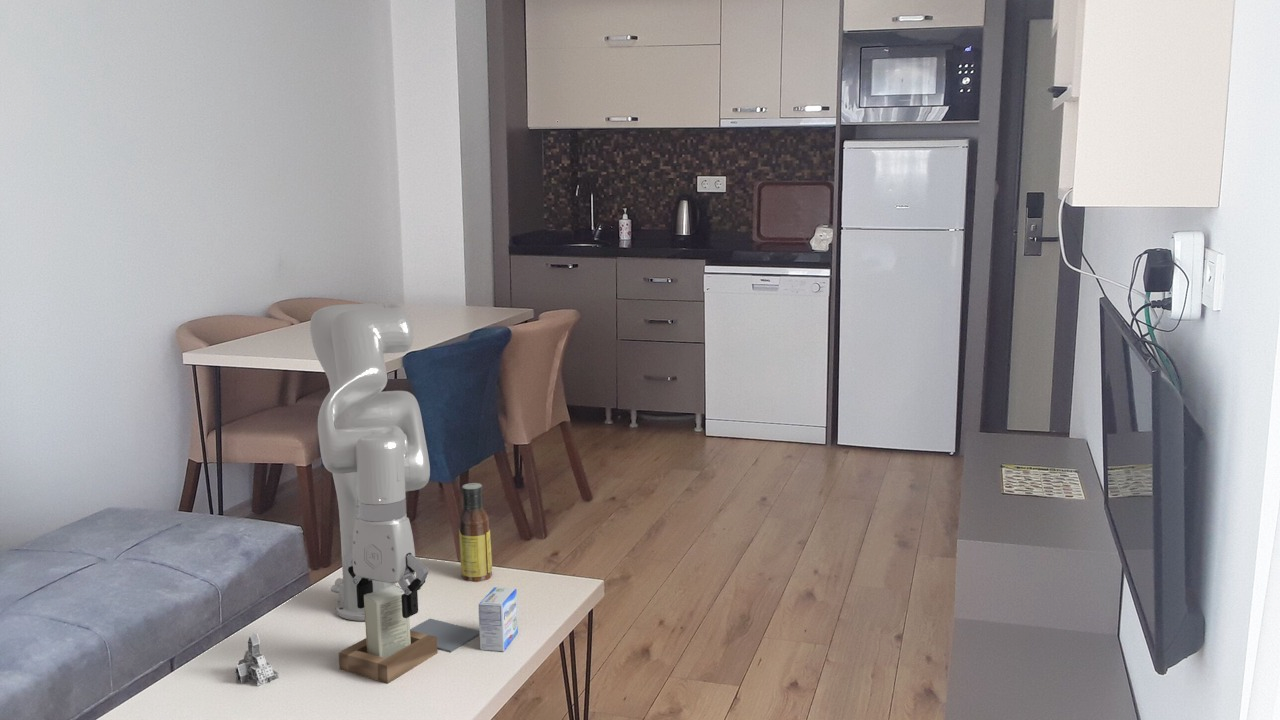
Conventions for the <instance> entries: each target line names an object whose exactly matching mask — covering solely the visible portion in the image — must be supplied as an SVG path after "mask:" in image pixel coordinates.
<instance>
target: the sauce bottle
mask: <svg viewBox="0 0 1280 720" xmlns="http://www.w3.org/2000/svg"><path fill="white" fill-rule="evenodd" d="M482 493H483V485H482V484H481V483H478V482H472V483H465V484H463V485H462V486H461V494H462V499H463V506H462V512H461V514H460V515H461V516H460V520H459V523H458V535H459V536H458V538H459V539H458V540H459V558H460V571H461V577H462V579H463V580H464V581H465V582H471V583H472V582H473V583H479V582H484V581H487V580H488V581H489V580H490V579H491V578H492V576H493V572H492V571H493V557H492V544H491V543H492V540H491V539H492V538H491V528H490V517H489V515H488V513H487V511H486V510H485V509H484V507H483V505H484V503H483V496H482V495H483V494H482Z"/></svg>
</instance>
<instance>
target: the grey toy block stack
mask: <svg viewBox="0 0 1280 720" xmlns="http://www.w3.org/2000/svg"><path fill="white" fill-rule="evenodd" d="M260 644H261V641H260V637H259V635H258V632H255V633H251V634H250V635H249V637H248V640H247V650H246V651H245V653H244V657H243V659H239V660H238V663H237V665H236V667H235V672H234V673H235V679H236V682H239V681H240V685H243V684H245V683H247V682H249V681H251V682H252V683H253V684H255V685H256V686H257V687H260V686H263V685H265V684H269V683H271V682H272V681H275V680H276V679H280V674H279V672H277V671H276V670H274V669H273V668H272V664H271V663H270V662H268V661H266V658H265V655H264V654H262V653H261V645H260Z"/></svg>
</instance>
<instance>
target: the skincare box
mask: <svg viewBox="0 0 1280 720" xmlns="http://www.w3.org/2000/svg"><path fill="white" fill-rule="evenodd" d="M402 594H404V591H403V590H402V588H401V587H400V586H397V585H394V586H391V587H388V588H385V589H381V590H378V591H375V592H372V593H369V594H366V595H364V608H365V621H364V622H365V624H364V625H365V638H366V643H367V653H368V654H372V655H375V656H379V657H383V658H388V657H389V656H391V655H393V654H395V653H396V652H398V651H400V650H402V649H403V648H405V647H407V646H409V645H410V644H411V639H410V629H411V623H410V622H411V621H410V617H408V618H403V616H402V598H401V596H402Z"/></svg>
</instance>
